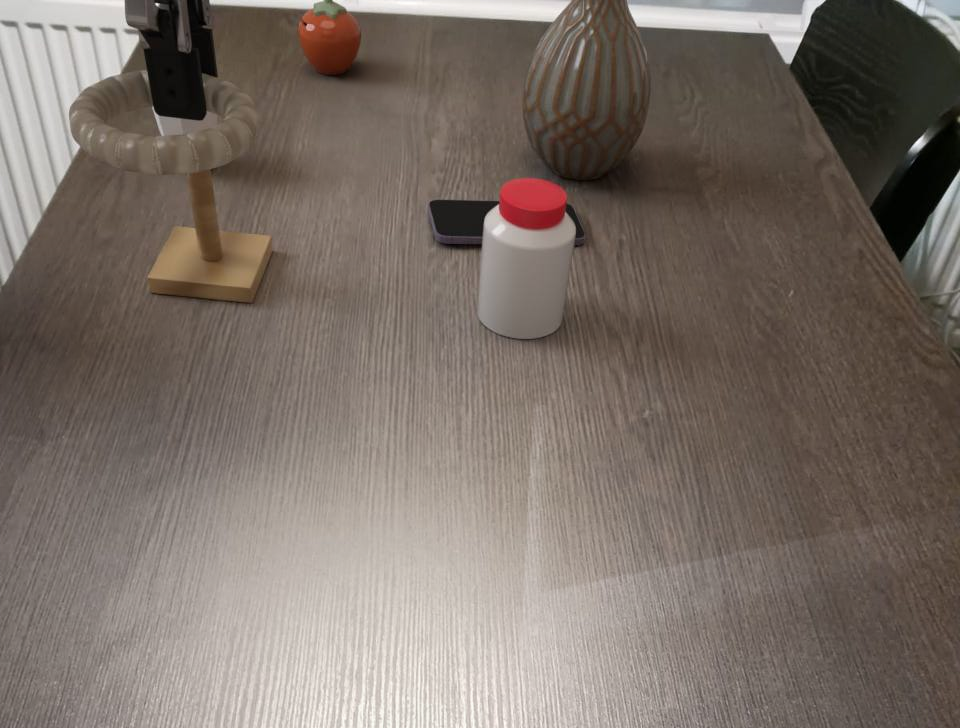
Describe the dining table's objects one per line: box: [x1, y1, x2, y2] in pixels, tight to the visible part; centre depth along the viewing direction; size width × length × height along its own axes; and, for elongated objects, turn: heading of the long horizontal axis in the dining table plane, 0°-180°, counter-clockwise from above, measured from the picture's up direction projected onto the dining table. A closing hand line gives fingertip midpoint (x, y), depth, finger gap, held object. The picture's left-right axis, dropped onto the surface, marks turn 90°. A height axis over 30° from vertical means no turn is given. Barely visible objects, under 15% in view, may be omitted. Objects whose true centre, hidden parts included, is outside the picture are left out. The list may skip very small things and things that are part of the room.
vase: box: [522, 0, 652, 181], centre depth 99 cm, size 13×13×18 cm
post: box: [146, 169, 274, 304], centre depth 83 cm, size 9×9×12 cm
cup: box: [151, 107, 218, 170], centre depth 98 cm, size 7×10×8 cm
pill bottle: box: [476, 177, 576, 340], centre depth 82 cm, size 8×8×11 cm
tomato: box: [297, 0, 362, 76], centre depth 114 cm, size 7×7×8 cm
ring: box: [68, 69, 261, 176], centre depth 58 cm, size 11×11×2 cm
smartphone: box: [427, 199, 586, 247], centre depth 96 cm, size 7×1×15 cm
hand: (187, 103), depth 62 cm, fingers closed on ring, 2 cm apart
